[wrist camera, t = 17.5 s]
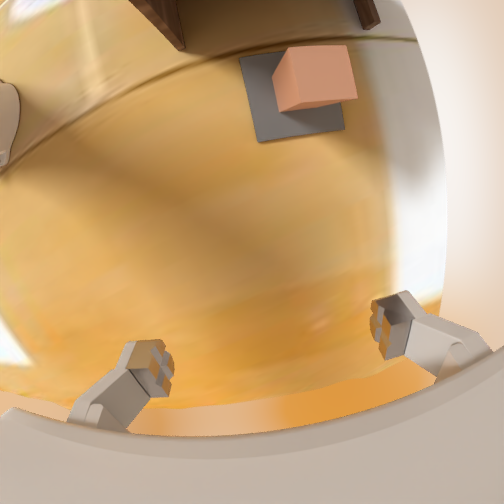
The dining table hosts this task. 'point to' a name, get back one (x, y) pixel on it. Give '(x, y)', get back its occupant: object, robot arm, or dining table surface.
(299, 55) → the block
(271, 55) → the mat
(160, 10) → the cubby
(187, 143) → the dining table surface
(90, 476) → the robot arm
